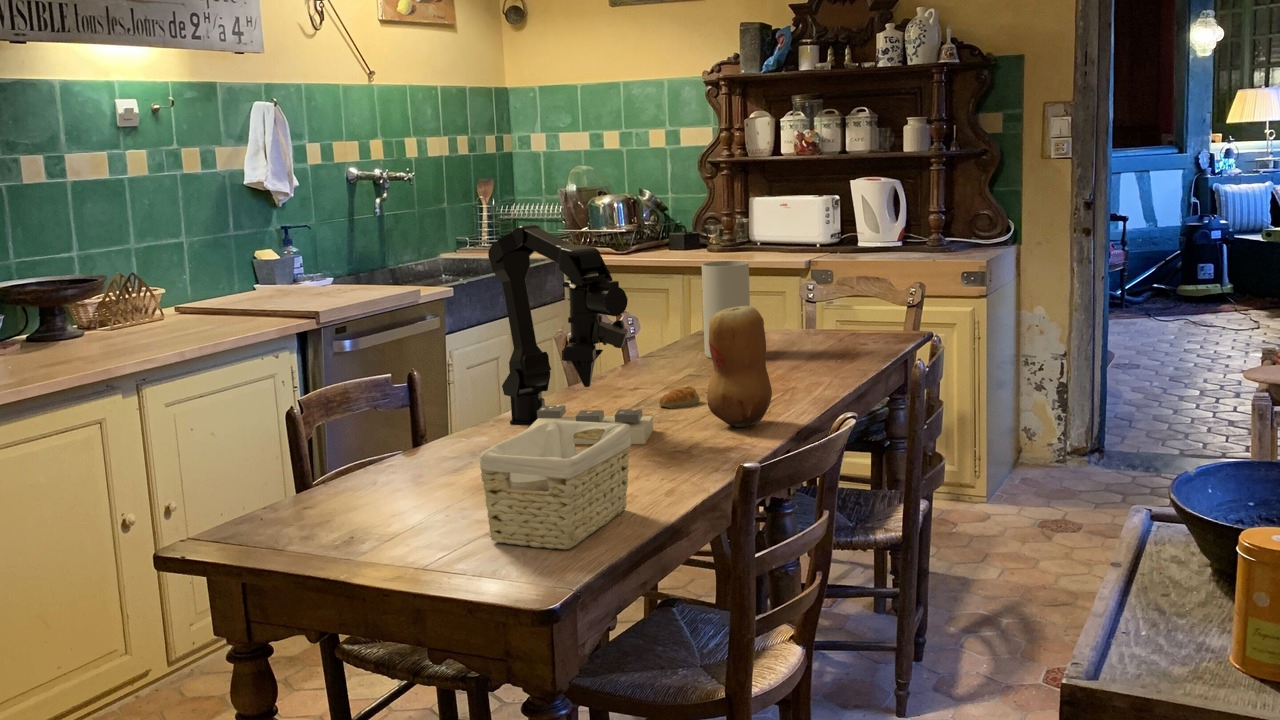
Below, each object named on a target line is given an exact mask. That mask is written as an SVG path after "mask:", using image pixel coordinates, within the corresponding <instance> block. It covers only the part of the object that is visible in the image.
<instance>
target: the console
mask: <svg viewBox="0 0 1280 720" xmlns="http://www.w3.org/2000/svg"><path fill="white" fill-rule="evenodd" d="M653 418H654V416H653V415H649V416H648V415H647V416H646V415H642V418H641V419H640V421H639V422H615V415H614V416H613V415H612V416H611V415H610V416H607V415H606V416H605V415H604V418H603V419H602V421H601V422H600V423H614V424H628V425H629V426H630V438H631V445H645V444H646V443H647V442H648V439H649V438H650V437H651V434H652V433H653V431H654V419H653ZM552 420H560V421H576V416H562V417H561V418H538V419H537V420H536V421H535V422H534V423H533V424H530V426H529V427H527V428H526V430H528V429H530V428H532V427H534V426H537V425H539V424H542V423H546V422H550V421H552ZM574 441H575V445H595V444H596V443H598V442H599V441H597V440H588V439H578V438H574Z"/></svg>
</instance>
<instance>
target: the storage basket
mask: <svg viewBox="0 0 1280 720" xmlns="http://www.w3.org/2000/svg"><path fill="white" fill-rule="evenodd" d="M527 429H528V428H527ZM527 429H525V430H524V431H522V432H520V433H518V434H515V435H514V436H512V437H510V438H507V439H505V440H502V441H500V442H499V443H496V444H494V445H493V446H491V447H490V448H488V449H487V450H484V451H483V453H481V454H480V456H479V459H480V461H479V468H480V471H481V473H480V475H481V482H482V483H483V485H482V486H483V489H484V496H485V506H486V510H487V518H488V525H489V532H490V535H489V538H490V539H491V541H493V542H496V543H501V544H507V545H517V546H530V547H532V548H546V549H550V550H551V549H558V550H570V549H572V548H573V547H575V546H577V545H578V544H579V543H580V542H582V541H584V540H585V538H587V537H589V536H590V535H593V533H594V532H596V531H597V530H599V529H600V528H602V527H604V526H606V525H607V524H608V523H609V522H610V521H612V520H613V519H614V518H615V517H616V516H619V515H620V514H621V513H623V512H624V511H625V510H626V508H627V497H628V496H627V492H628V486H629V485H628V483H629V477H628V476H629V475H628V474H629V464H630V463H629V459H630V450H631V447H632V444H631V438H630V426H629V425H628V424H614V423H599V422H581V421H560V420H552V421H550V422H546V423H542V424H539V425H537V426H534V427H532V428H530V429H528V430H527ZM574 438H578V439H588V440H597V441H599V442H598V443H596V444H592V445H591V446H589V447H585V448H582V449H576V444H575V441H574Z"/></svg>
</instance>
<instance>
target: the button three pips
mask: <svg viewBox="0 0 1280 720" xmlns="http://www.w3.org/2000/svg"><path fill="white" fill-rule="evenodd" d="M566 409H567V408H566V405H560V404H559V405H558V404H557V405H545V406H542V407H541V408H540V409H539V410H538V411H537V418H561V417H564V415H565V414H566V412H567V410H566Z"/></svg>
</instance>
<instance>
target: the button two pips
mask: <svg viewBox="0 0 1280 720" xmlns="http://www.w3.org/2000/svg"><path fill="white" fill-rule="evenodd" d="M614 416H615V422H639V421H640V419H641V418H642V416H643V409H642V408H641V409H640V408H635V409H634V408H631V409H630V408H628V409H627V408H623V409H621V408H620V409H617V411H616V412H615V414H614Z"/></svg>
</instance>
